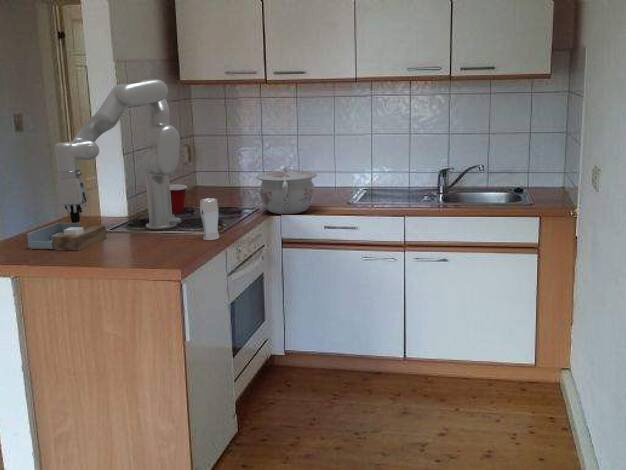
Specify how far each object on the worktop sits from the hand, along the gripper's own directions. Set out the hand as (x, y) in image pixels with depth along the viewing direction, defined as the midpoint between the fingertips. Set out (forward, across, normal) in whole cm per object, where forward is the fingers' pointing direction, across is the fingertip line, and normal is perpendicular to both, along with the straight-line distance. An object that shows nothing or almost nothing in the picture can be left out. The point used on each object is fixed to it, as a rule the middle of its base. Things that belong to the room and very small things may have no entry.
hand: (75, 222), depth 268 cm
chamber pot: (+10, -66, -63) cm, 92 cm away
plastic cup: (+9, -13, -61) cm, 63 cm away
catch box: (+7, +6, +5) cm, 11 cm away
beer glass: (+9, -51, -9) cm, 53 cm away
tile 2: (+2, -5, +10) cm, 11 cm away
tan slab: (+7, -4, +5) cm, 10 cm away
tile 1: (+5, +7, +1) cm, 8 cm away
